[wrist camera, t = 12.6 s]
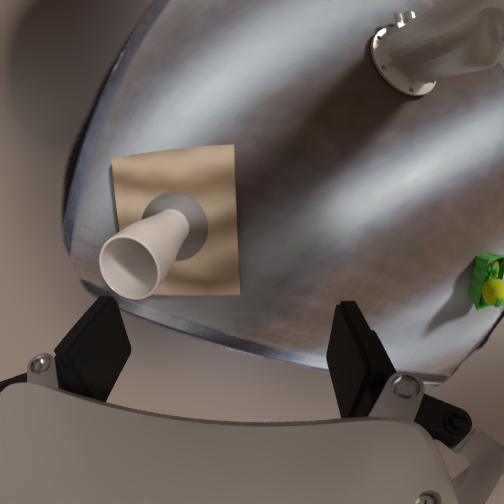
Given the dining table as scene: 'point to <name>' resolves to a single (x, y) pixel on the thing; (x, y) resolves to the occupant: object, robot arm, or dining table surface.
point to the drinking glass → (143, 254)
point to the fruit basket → (487, 281)
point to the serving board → (187, 212)
